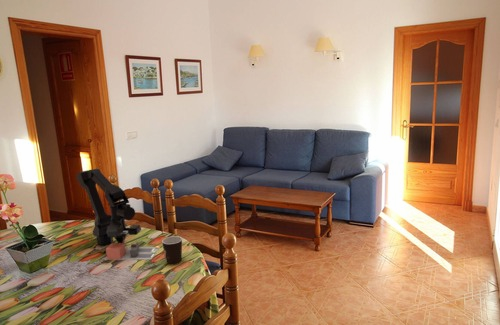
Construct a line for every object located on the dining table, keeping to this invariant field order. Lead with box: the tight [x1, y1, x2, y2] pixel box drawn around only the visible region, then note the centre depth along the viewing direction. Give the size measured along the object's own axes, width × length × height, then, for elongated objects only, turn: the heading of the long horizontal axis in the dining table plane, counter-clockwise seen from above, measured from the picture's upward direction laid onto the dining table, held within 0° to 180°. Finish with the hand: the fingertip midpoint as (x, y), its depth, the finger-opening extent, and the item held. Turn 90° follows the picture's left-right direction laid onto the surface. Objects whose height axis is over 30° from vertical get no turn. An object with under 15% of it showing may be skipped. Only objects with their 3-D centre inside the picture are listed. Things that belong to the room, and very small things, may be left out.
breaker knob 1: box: [130, 241, 140, 249], centre depth 177 cm, size 2×3×3 cm
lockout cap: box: [105, 242, 126, 259], centre depth 172 cm, size 6×6×5 cm
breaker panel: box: [103, 245, 161, 261], centre depth 175 cm, size 22×13×2 cm, turn 85°
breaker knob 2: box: [130, 247, 139, 257], centre depth 171 cm, size 2×3×3 cm
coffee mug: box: [161, 235, 183, 266], centre depth 168 cm, size 12×9×10 cm
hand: (121, 247), depth 178 cm, fingers closed
